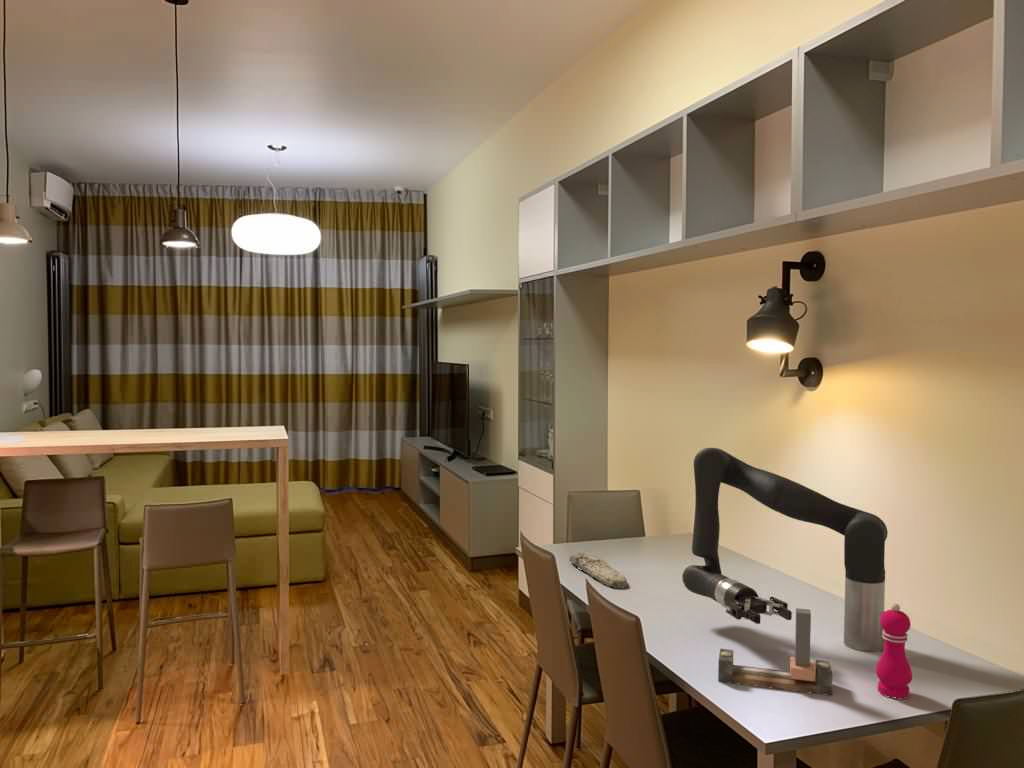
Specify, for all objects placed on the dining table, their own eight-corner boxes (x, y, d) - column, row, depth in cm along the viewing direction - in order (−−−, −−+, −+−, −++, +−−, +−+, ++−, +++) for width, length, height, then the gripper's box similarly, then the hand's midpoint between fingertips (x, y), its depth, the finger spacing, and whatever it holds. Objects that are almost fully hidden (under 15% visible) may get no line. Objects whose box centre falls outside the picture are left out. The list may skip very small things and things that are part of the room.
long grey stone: (606, 595, 247) (635, 593, 250) (608, 578, 246) (636, 577, 250) (561, 560, 279) (587, 559, 283) (562, 545, 279) (588, 544, 282)
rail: (829, 682, 180) (829, 659, 180) (831, 695, 173) (832, 671, 173) (719, 669, 187) (720, 647, 187) (718, 681, 181) (718, 658, 180)
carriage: (813, 669, 181) (814, 607, 180) (814, 681, 175) (816, 616, 174) (789, 667, 182) (791, 605, 181) (790, 678, 176) (791, 614, 175)
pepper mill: (880, 683, 180) (882, 596, 179) (915, 692, 175) (917, 602, 174) (871, 694, 174) (873, 604, 173) (907, 703, 170) (909, 611, 169)
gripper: (711, 584, 201) (749, 605, 185) (760, 579, 205) (800, 599, 189) (711, 614, 201) (748, 636, 186) (759, 608, 205) (800, 630, 190)
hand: (774, 617), depth 187 cm, fingers open, 8 cm apart
